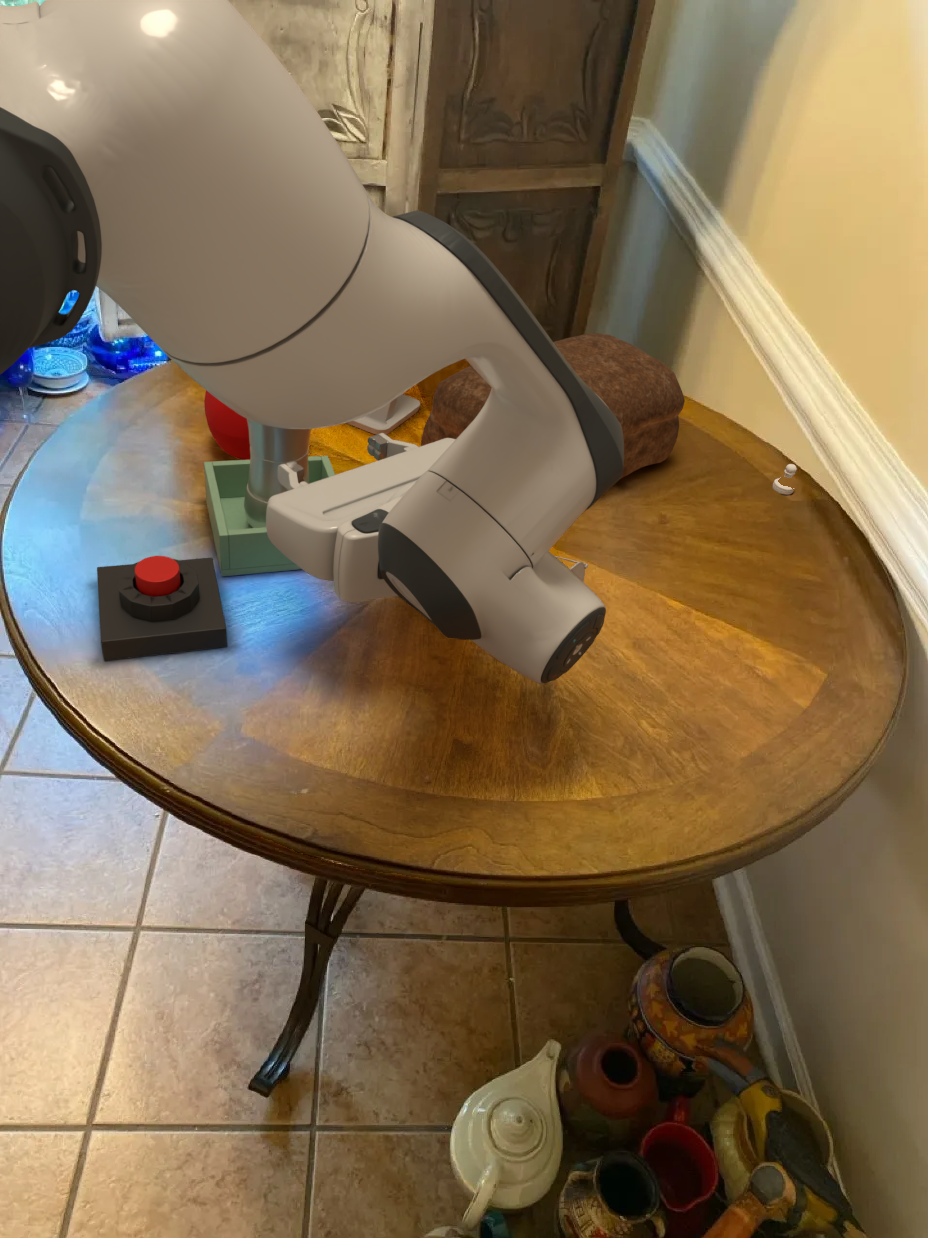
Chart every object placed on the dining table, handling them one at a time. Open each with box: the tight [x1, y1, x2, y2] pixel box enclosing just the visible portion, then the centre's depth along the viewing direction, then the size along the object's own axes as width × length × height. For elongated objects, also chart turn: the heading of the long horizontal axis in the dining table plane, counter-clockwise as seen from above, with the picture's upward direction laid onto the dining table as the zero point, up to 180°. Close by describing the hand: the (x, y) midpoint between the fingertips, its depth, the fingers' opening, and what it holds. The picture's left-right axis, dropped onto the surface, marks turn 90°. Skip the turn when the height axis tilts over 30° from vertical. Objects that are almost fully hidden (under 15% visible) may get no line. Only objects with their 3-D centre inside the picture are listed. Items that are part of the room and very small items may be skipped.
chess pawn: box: [771, 463, 798, 495], centre depth 112 cm, size 3×3×4 cm
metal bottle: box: [244, 419, 312, 528], centre depth 85 cm, size 6×7×20 cm
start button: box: [135, 555, 181, 597], centre depth 78 cm, size 4×4×2 cm
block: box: [96, 557, 228, 662], centre depth 80 cm, size 10×10×4 cm
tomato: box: [203, 390, 250, 460], centre depth 100 cm, size 10×11×11 cm
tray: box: [203, 455, 336, 577], centre depth 91 cm, size 13×13×5 cm
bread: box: [420, 332, 686, 479], centre depth 106 cm, size 17×30×13 cm, turn 131°
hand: (330, 455), depth 80 cm, fingers open, 8 cm apart
